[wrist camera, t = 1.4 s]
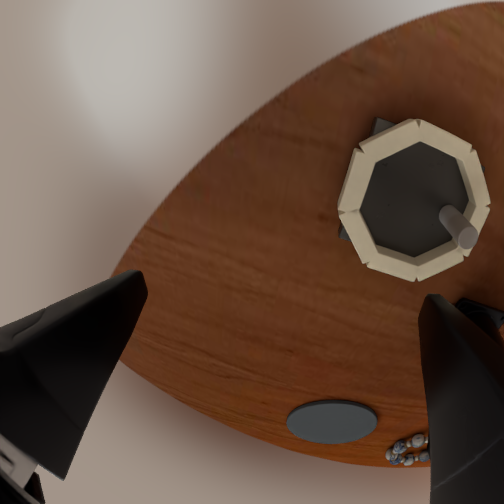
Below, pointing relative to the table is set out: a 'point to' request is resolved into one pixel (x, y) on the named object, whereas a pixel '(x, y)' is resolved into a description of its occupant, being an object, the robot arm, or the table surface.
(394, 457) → the bracelet
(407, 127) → the ring
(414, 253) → the peg stand
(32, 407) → the robot arm
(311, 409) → the felt pad
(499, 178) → the table surface
